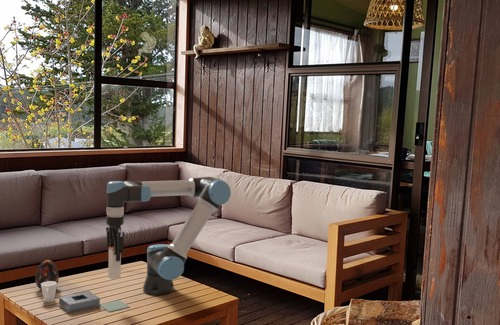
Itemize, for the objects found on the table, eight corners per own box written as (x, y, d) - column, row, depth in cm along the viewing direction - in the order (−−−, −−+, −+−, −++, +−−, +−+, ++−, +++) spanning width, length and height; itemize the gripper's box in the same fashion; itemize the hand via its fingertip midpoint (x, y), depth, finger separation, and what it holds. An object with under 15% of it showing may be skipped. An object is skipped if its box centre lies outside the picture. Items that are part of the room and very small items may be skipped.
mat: (119, 300, 243) (119, 300, 243) (129, 307, 235) (129, 306, 235) (99, 305, 236) (99, 304, 236) (109, 312, 229) (109, 311, 229)
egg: (48, 284, 262) (48, 255, 260) (63, 288, 257) (63, 259, 255) (30, 290, 252) (30, 260, 251) (45, 294, 247) (45, 264, 246)
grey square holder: (88, 299, 244) (88, 290, 243) (99, 306, 235) (99, 298, 234) (59, 305, 235) (59, 296, 234) (69, 313, 226) (69, 304, 225)
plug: (116, 275, 237) (116, 245, 236) (120, 277, 234) (120, 247, 233) (108, 277, 235) (108, 247, 233) (112, 279, 231) (112, 248, 230)
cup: (57, 297, 245) (57, 280, 244) (55, 304, 235) (55, 287, 235) (42, 298, 243) (42, 281, 243) (38, 305, 234) (38, 288, 233)
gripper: (99, 213, 236) (98, 263, 238) (116, 219, 223) (115, 272, 225) (114, 211, 241) (113, 260, 243) (131, 218, 228) (131, 269, 230)
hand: (114, 266), depth 234 cm, fingers closed on plug, 4 cm apart
